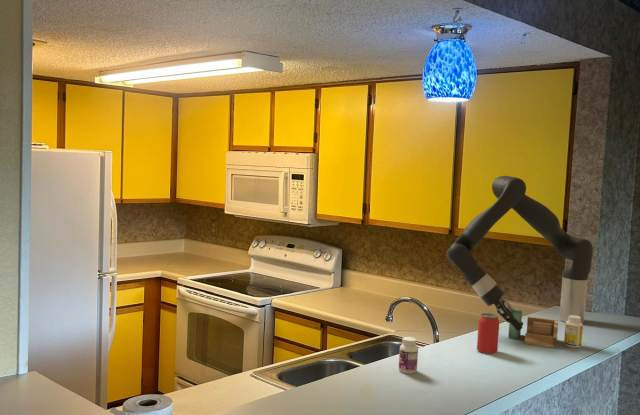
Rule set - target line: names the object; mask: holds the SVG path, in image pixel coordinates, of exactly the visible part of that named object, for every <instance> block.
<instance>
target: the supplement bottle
mask: <svg viewBox="0 0 640 415" xmlns="http://www.w3.org/2000/svg"><path fill="white" fill-rule="evenodd" d="M583 329H584V323H581V317H579V316H575V315H569V317H568V321H566V322H565V325H564V338H563V339H564V340H563V344H564V346H566V347H569V348H572V349H577V348H578V349H579V348H581V347H582V342H583Z"/></svg>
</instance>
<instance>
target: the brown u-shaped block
mask: <svg viewBox="0 0 640 415" xmlns="http://www.w3.org/2000/svg"><path fill="white" fill-rule="evenodd" d="M526 320H527V322H526V332H525V333H524V334H525V335H524V336H525V340H524V344H526V345H532V346H533V345H534V346H538V347H545V348H551V349H557V341H558V330H559V327H558V326H559V320H558V319H551V318H541V317H537V316H535V317H533V316H527V319H526ZM534 322H541V323H549V324H552V327H551V336H545V335H538V334H532V331H533V323H534Z"/></svg>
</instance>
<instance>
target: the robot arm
mask: <svg viewBox="0 0 640 415" xmlns="http://www.w3.org/2000/svg"><path fill="white" fill-rule="evenodd" d="M491 190H492V193H493V195H494V196H495V197H496V198H497V200H496V201H495V202H494V203H493V204H492V205H490V206H489V207H487V208H486V209H485V210H483V211H481V212H480V213H479V214H477V215H476V216H475V217H474V218H473V219H471V221H470V222H469V223H468V225H466V227H465V228H464V230H463V231H462V232H461V234H460V235H459V237H457V239H456V240H455V241H454V242H453V243H452V244H451V245H450V247H449V248H448V249H447V251H446V252H445V256H446V261H448V263H450V264H451V265H454V266H456V267H457V268H458V269H459V271H460V272H461V274H462V276H463V278H464V279H465V280H466V281H467V283H469V285H470V286H471V287H472V289H473V290H474V291H475V293H476V294H477V295H478V296H479V297H480V299H481V300H482V301H483V302H484V303H485V305H486V306H488V307H491V306H492V305H494V306H495V308H496V312H497V314H499V315H500V317H502V318H503V320H505V322H506V323H508V324H509V323H511V324H512V325H513V326H514V327H515V329H516V330H517V331H519V330H520V329H521V330H522V329H523V326H524V322H523V321H522V320H521V324H520V323H519V322H518V321H517V320H516V318H515V317H514V316H513V315H512V311H511V310H510V309H514V308H513V306H512V305H511V304H510V303H509V301H508V300H507V299H503V298H502V297H503V296H504V295H505V292H504V290H503V289H502V288H501V287H500V286H499V285H498V283H496V281H495V280H494V278H492V277H491V276H490V275H489V274H488V273H487V272H486V271H485V270H484V268H482V266H481V265H480V264H479V263H478V262H477V261H476V259H475V257H474V256H473V255H472V253H471V252H472V251H473V249H474V248H475V247H476V246H477V245H478V244H479V243H480V242H481V241H483V240H482V239H484V238H485V236H486V235H487V234H488V232H489V231H490V230H491V229H492V228H493V227H494V225H496V223H497V222H499V220H501V219H502V217H504V216H505V215H506V214H507V213H508V212H509V211H510V210H513V211H515V213H517V214H518V216H520V218H521V219H523V220H524V221H525V222H526V223H527V224H529V225H528V226H530V227H531V228H532V229H534V231H536V232H537V233H538V234H540V235H541V236H542V237H543V238H544V239H546V240H547V242H549V243H551V245H552V246H553V247H554V248H555V249H556V250H557V252H558V253H559V254H560V255H561V256H562V257H563V258H565V259H566V260H570V261H572V263H571V266H570V267H569V268H565V269H563V270H562V277H561V278H562V280H561V290H560V291H561V293H560V303H559V315H558V318H559V320H558V321H561V322H565V323H566V321H568V317H569V315H575V316H579V317H581V323H582V324H584V323H585V317H586V316H585V314H586V304H587V292H588V291H587V290H588V278H589V274H590V272H591V268H592V259H593V253H594V251H593V249H594V248H593V244H592V242H591V241H590V240H588V239H586V238H581V237H575V236H572V235H570V234H569V233H567V232H566V231H565V230H564V229H563V228H562V227H561V224H560V220H559V218H558V216H557V215H556V214H555V213H554V212H553V211H552V210H550V209H549V208H548V207H547V206H546V205H544V204H543V203H541V202H539V201H538V200H536V199H534V198H532V197H530V196H528V195H527V194H526V192H527V184H526V182H525V181H524V180H523V179H521V178H520V177H514V176H510V175H500V176H498V177H496V178H495V179H494V180H493V182H492V185H491Z"/></svg>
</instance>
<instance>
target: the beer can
mask: <svg viewBox="0 0 640 415" xmlns="http://www.w3.org/2000/svg"><path fill="white" fill-rule="evenodd" d="M499 331H500V320H499V316H498V315H497V314H493V313H489V312H486V313H481V314H480V317H479V319H478V326H477V338H476V339H477V341H476V350H477V351H478V352H480V353H482V354H485V355H493V354H494V355H495V354H496V353H497V352H498V348H499V347H498V346H499V335H500V334H499Z"/></svg>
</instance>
